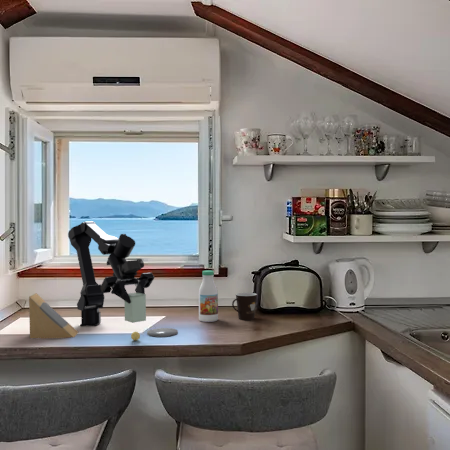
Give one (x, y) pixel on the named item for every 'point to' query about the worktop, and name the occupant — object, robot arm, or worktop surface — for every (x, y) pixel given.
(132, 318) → the pale green block
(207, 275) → the milk bottle
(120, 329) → the worktop surface
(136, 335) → the mustard ball
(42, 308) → the sandwich container
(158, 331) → the coaster
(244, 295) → the coffee mug
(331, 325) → the worktop surface
